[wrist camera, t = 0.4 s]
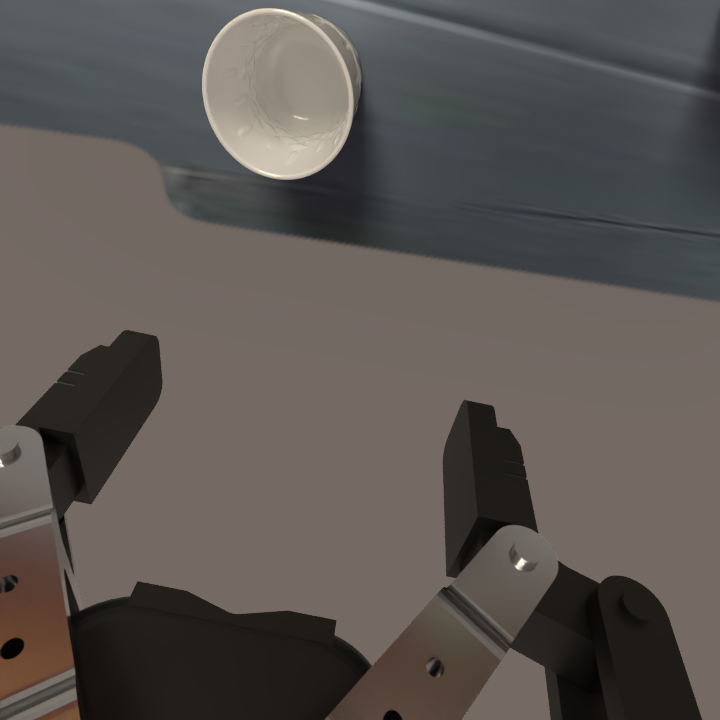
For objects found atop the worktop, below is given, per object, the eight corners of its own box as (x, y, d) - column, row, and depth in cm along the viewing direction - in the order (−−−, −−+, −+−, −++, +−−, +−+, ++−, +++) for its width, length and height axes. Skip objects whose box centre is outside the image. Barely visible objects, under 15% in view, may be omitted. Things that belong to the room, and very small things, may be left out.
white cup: (342, -20, 31) (312, -25, 23) (388, 112, 35) (376, 148, 27) (233, 38, 33) (171, 52, 25) (288, 155, 37) (250, 200, 29)
